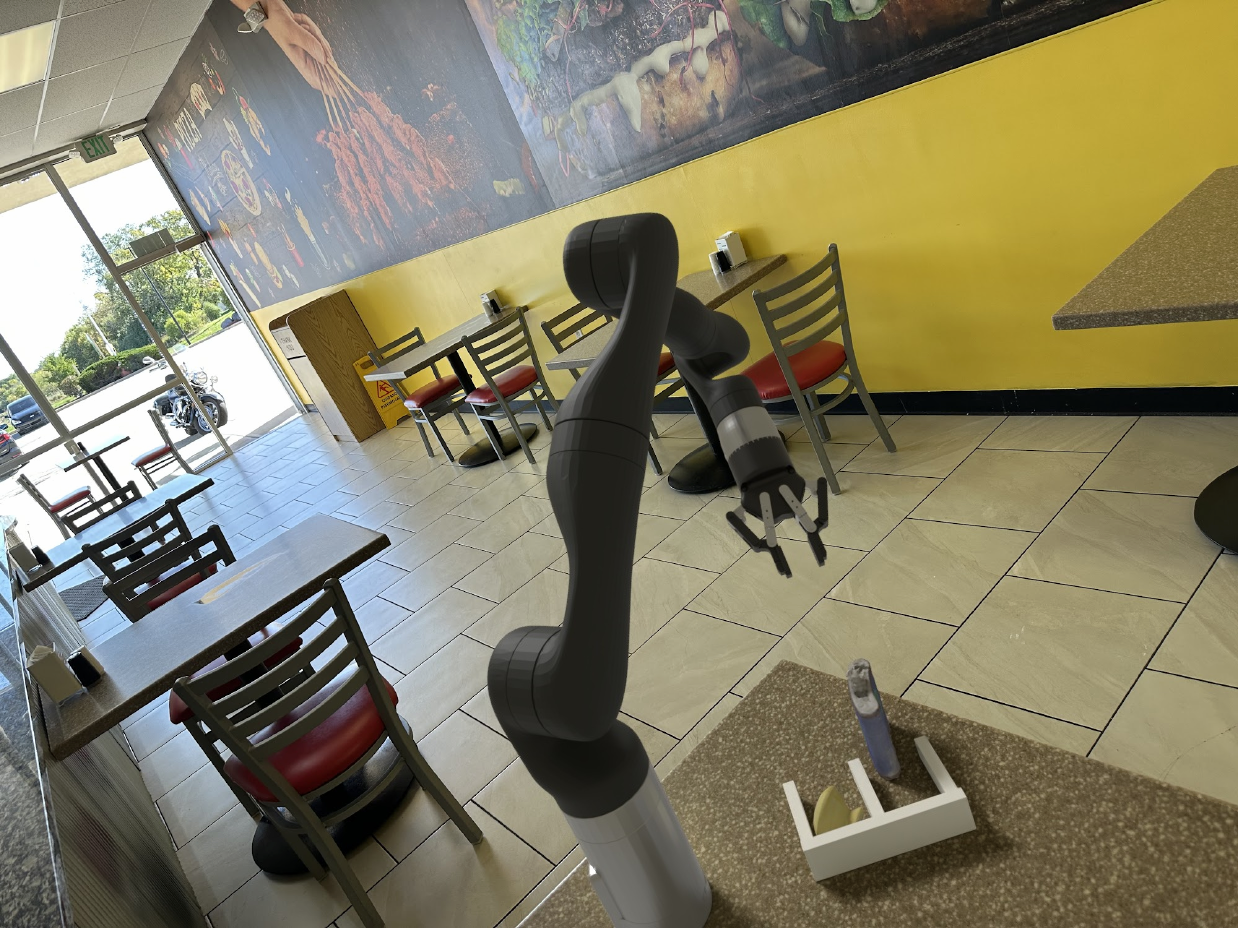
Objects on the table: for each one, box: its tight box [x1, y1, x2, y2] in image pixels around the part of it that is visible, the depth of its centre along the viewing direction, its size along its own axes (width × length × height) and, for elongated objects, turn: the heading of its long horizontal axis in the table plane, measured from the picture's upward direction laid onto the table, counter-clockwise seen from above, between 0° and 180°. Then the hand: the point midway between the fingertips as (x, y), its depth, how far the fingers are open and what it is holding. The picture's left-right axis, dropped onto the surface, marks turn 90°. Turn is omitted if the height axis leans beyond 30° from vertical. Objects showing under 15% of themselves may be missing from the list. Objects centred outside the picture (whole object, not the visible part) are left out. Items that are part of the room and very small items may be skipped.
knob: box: [813, 785, 865, 836], centre depth 77 cm, size 5×5×5 cm
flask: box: [845, 658, 902, 781], centre depth 84 cm, size 9×3×11 cm, turn 172°
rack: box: [782, 735, 977, 883], centre depth 78 cm, size 16×10×4 cm, turn 92°
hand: (805, 569), depth 95 cm, fingers open, 3 cm apart
